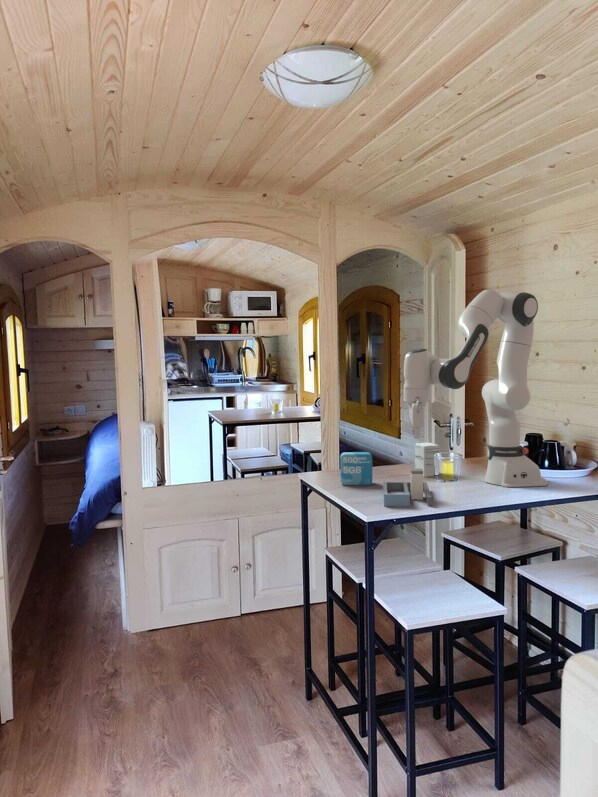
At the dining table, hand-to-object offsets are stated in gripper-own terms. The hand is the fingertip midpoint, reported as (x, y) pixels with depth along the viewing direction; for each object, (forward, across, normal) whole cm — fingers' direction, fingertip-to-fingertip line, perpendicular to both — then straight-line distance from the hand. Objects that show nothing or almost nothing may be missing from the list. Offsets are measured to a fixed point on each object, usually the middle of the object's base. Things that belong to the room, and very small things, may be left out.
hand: (416, 436), depth 208 cm
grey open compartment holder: (+22, 0, +3) cm, 22 cm away
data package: (+22, +20, +21) cm, 36 cm away
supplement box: (+22, +37, -7) cm, 43 cm away
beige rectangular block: (+22, 0, 0) cm, 22 cm away
